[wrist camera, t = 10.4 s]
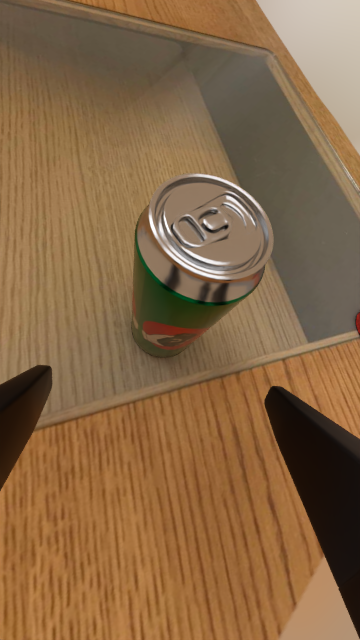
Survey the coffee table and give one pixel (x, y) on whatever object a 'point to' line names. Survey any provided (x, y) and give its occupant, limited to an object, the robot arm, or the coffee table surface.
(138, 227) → the soda can
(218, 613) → the coffee table surface
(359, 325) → the spoon
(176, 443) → the coffee table surface
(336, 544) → the robot arm
